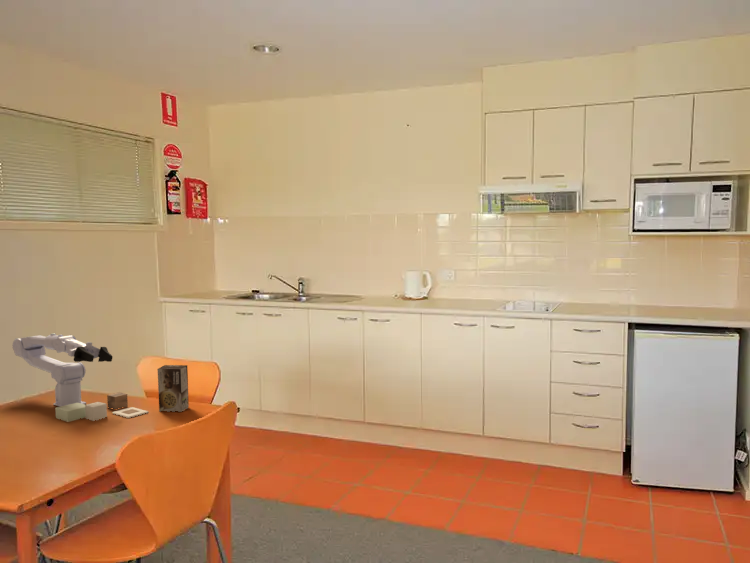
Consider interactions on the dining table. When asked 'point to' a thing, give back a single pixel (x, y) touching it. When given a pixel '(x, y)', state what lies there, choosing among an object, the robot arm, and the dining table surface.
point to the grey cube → (96, 411)
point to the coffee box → (173, 388)
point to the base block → (70, 412)
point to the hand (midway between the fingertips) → (102, 358)
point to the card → (130, 412)
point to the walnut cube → (117, 400)
